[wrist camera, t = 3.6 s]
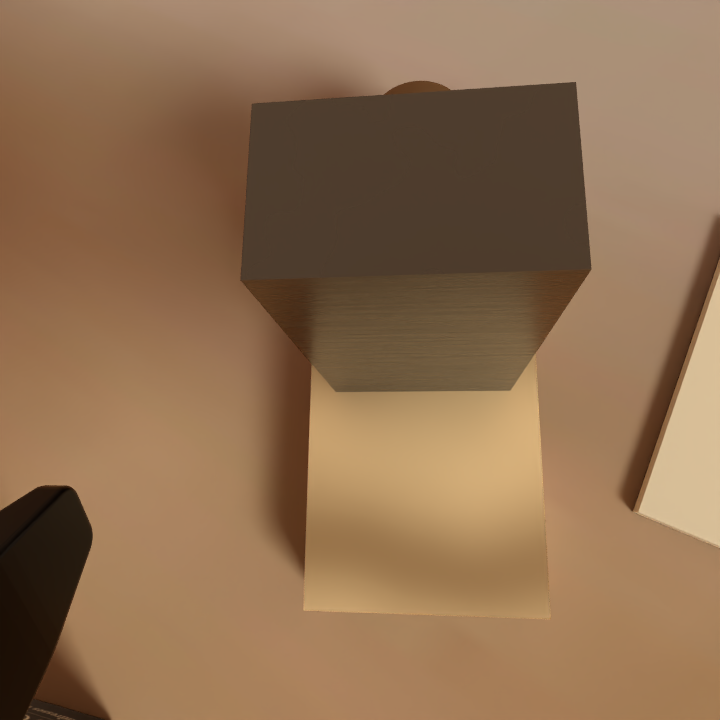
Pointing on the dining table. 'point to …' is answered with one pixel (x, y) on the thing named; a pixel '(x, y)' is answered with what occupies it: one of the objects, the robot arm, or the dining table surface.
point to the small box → (53, 712)
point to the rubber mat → (690, 439)
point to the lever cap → (417, 232)
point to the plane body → (426, 498)
